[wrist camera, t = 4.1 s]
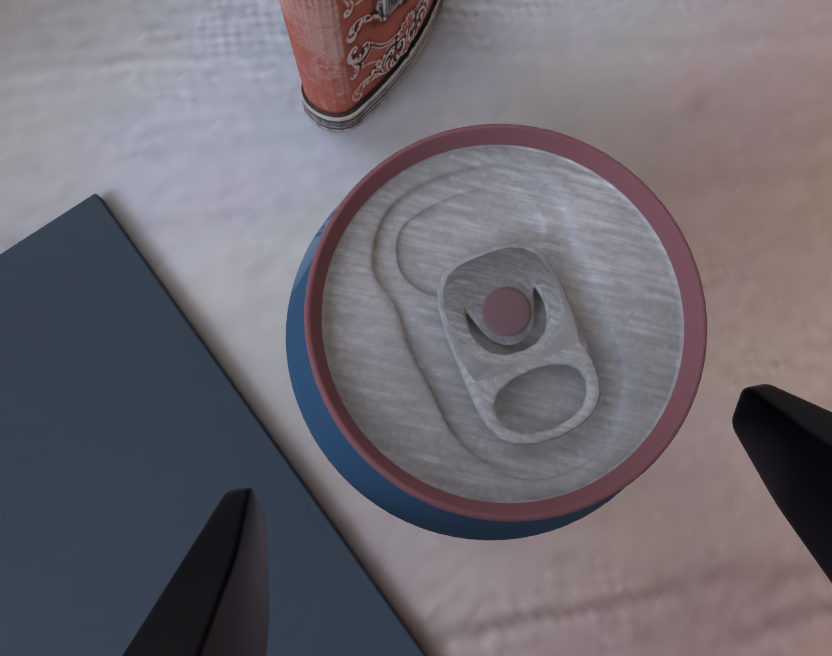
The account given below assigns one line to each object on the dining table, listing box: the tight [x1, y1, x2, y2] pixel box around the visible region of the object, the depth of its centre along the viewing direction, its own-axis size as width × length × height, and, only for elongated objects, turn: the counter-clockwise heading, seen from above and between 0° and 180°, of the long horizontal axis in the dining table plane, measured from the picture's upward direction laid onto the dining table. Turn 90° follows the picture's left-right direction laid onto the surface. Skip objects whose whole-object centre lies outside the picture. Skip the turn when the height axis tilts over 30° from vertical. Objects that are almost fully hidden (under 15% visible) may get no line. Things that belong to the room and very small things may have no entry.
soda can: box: [286, 124, 707, 540], centre depth 13 cm, size 7×7×12 cm
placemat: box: [0, 194, 427, 656], centre depth 18 cm, size 22×15×1 cm
